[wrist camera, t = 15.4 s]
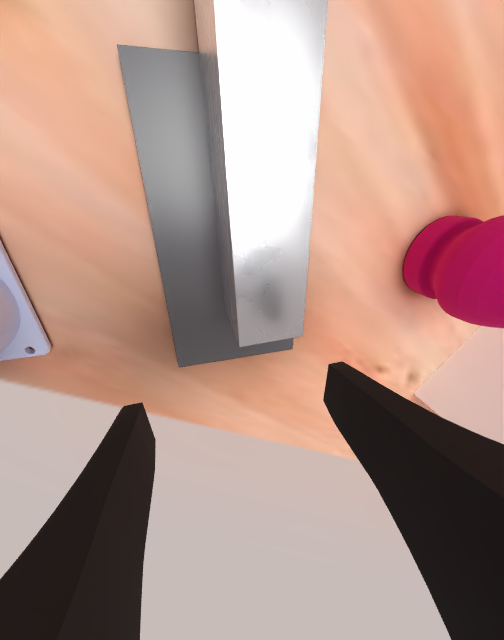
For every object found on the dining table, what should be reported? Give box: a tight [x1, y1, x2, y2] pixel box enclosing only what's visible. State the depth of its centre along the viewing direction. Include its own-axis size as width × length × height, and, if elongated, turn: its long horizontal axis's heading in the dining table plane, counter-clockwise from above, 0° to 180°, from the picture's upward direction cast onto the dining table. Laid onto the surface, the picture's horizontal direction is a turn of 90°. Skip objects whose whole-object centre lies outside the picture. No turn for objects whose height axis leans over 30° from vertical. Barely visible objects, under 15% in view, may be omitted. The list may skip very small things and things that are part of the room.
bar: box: [194, 0, 328, 347], centre depth 11 cm, size 4×16×5 cm, turn 2°
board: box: [117, 45, 293, 367], centre depth 16 cm, size 9×17×1 cm, turn 1°
